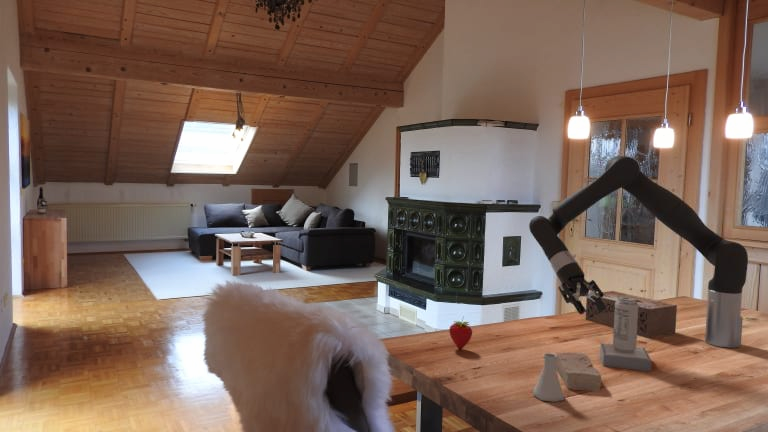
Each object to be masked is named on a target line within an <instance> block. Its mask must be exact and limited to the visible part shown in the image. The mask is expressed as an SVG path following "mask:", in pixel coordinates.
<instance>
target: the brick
mask: <svg viewBox="0 0 768 432" xmlns="http://www.w3.org/2000/svg"><path fill="white" fill-rule="evenodd" d="M555 355H557V359H556V371H557V374H559V377H560V379H562V382H563V384H564V386H565V387H566V388H567V389H568V390H575V391H587V392H588V391H589V392H600V391H601V386H602V376H601V374H600V372H599V370H598V369H597V368H596V367H595V366H594V365H593V363H592V361H591V359H590V357H589V355H588V354H586V353H583V352H556V353H555Z"/></svg>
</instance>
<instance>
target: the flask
mask: <svg viewBox="0 0 768 432" xmlns="http://www.w3.org/2000/svg"><path fill="white" fill-rule="evenodd" d="M542 355H543V359H544V361H543V362H544V363H543V366H542V370H541V372H540V375H539V377H538V379H537V382H536V384H535V386H534V388H533V396H534V397H536V398H537V399H539V400H541V401H545V402H555V403H556V402H561V401H565V396H564V392H563V390H562V386H561V383H560V379H559V376H558V371H557V369H556V359H557V355H556V353H550V352H549V353H548V352H546V353H543V354H542Z"/></svg>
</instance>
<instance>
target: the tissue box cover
mask: <svg viewBox="0 0 768 432" xmlns="http://www.w3.org/2000/svg"><path fill="white" fill-rule="evenodd" d="M596 293H597V294H599V293H598V292H596ZM602 293H603V294H604V296H602V297H601V300H602V302H603V304H604V305H605V307H606V309H605V310H604V311H603V312H600V311H599V310H598V308H597V306H596V305H595V303H594V301H593V300H591V299H590V298H586V297H585V298H586V303H585V304H586V305H585V310H586V312H585V320H586V321H588V322H590V323H594V324H598V325H601V326H605V327H609V328H612V329H614V315H615V302H616V301H617V299H618V297H631V298H635V299H636V302H637V304H638V320H637V336H639V337H643V338H646V339H651V338H657V337H662V336H668V335H673V334H676V328H677V313H678V311H677V310H678V309H677V307H678V305H677V304H673V303H668V302H665V301H661V300H656V299H650V298H646V297H641V296H638V295H633V294H627V293H624V292H619V291H615V290H610V291H602ZM592 296H593V297H594V298H595V296H594V295H592Z"/></svg>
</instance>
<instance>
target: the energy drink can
mask: <svg viewBox="0 0 768 432" xmlns="http://www.w3.org/2000/svg"><path fill="white" fill-rule="evenodd" d="M637 320H638V304H637V302H636V299H635V298H631V297H618V299H617V301H616V302H615V315H614V328H613V337H612V338H613V339H612V344H613V347H615V350H616V351H619V352H623V353H633V352H634V350H635V349H636V347H637V338H638V335H637Z"/></svg>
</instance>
